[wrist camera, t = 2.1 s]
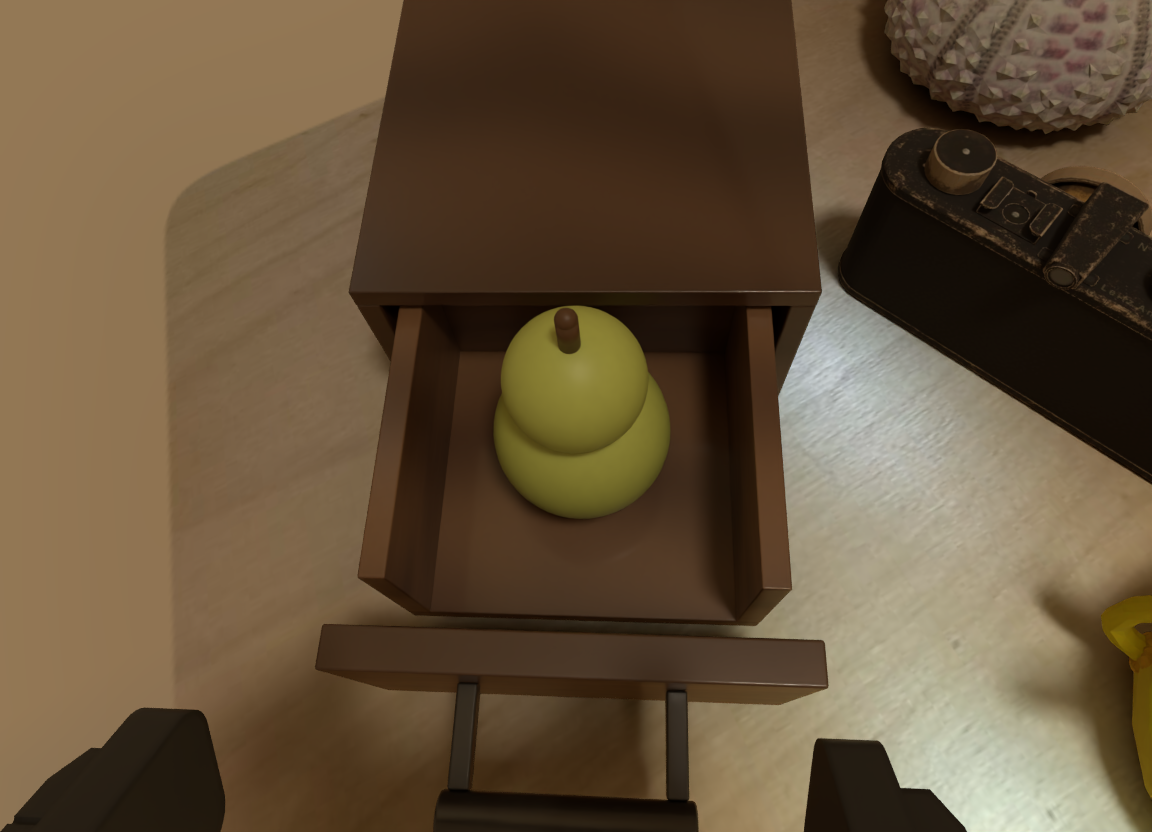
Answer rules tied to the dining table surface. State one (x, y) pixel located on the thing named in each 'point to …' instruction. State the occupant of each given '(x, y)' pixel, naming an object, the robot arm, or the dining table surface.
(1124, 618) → the mug
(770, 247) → the cabinet
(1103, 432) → the camera
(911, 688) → the dining table surface
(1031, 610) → the dining table surface
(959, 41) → the sea urchin shell
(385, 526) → the drawer
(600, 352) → the pear
